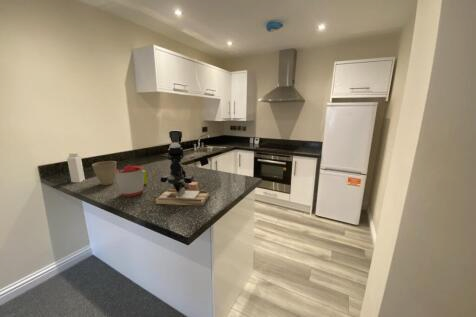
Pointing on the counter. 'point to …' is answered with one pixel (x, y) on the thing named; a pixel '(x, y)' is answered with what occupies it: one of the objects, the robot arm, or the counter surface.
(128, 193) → the citrus juicer
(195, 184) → the block
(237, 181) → the counter surface
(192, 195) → the slide cover
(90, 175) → the counter surface
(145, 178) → the puzzle toy
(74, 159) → the milk
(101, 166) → the plant pot
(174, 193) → the puzzle board
